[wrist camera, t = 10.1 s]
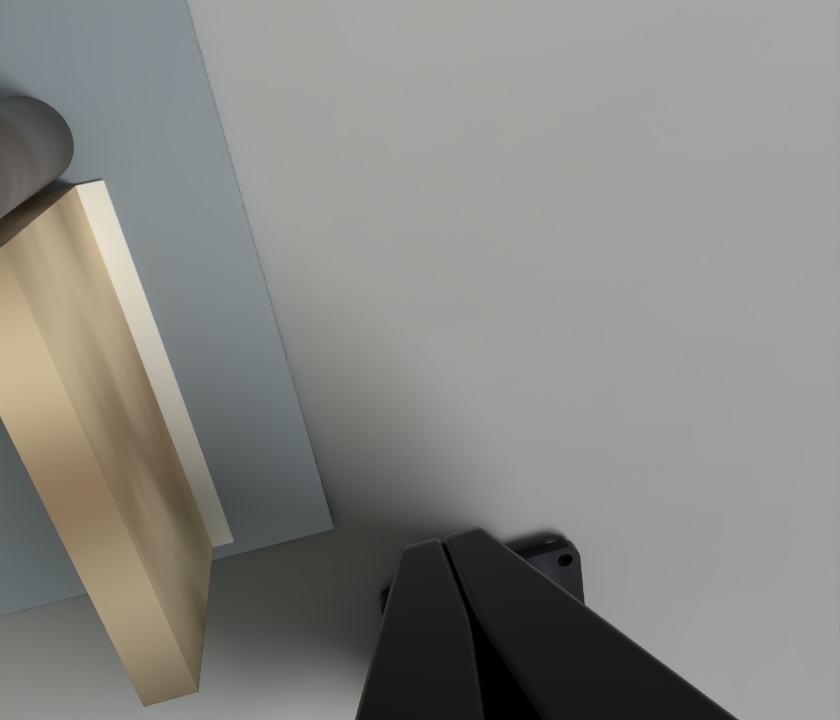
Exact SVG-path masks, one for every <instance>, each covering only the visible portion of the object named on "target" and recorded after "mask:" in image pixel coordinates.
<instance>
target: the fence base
mask: <svg viewBox="0 0 840 720" xmlns="http://www.w3.org/2000/svg"><path fill="white" fill-rule="evenodd" d="M73 153H74V141H73V136H72V133H71V130H70V128H69V126H68V124H67V123H66V121H65V120H64V118H63V117H62V116H61V115H60V114H59V113H58V112H57V111H56V110H55V109H54V108H53V107H51V106H50V105H48V104H47V103H45V102H43V101H40V100H38V99H35V98H31V97H25V96H15V97H9V98H5V99H2V100H0V417H1V419H2V421H3V423H4V425H5V427H6V429H7V431H8V433H9V435H10V437H11V439H12V441H13V443H14V445H15V447H16V449H17V451H18V453H19V455H20V457H21V459H22V461H23V463H24V465H25V467H26V469H27V471H28V473H29V475H30V477H31V479H32V481H33V483H34V485H35V487H36V489H37V491H38V493H39V495H40V497H41V499H42V501H43V503H44V506H45V508H46V510H47V512H48V514H49V516H50V518H51V520H52V522H53V524H54V526H55V528H56V530H57V532H58V534H59V536H60V538H61V540H62V542H63V544H64V546H65V548H66V550H67V552H68V554H69V556H70V558H71V560H72V562H73V564H74V566H75V568H76V570H77V572H78V574H79V576H80V578H81V580H82V582H83V584H84V586H85V588H86V590H87V592H88V594H89V596H90V598H91V600H92V602H93V604H94V606H95V609H96V611H97V613H98V615H99V617H100V619H101V621H102V623H103V625H104V627H105V629H106V631H107V633H108V635H109V637H110V639H111V641H112V643H113V645H114V647H115V649H116V651H117V653H118V655H119V657H120V659H121V661H122V663H123V665H124V667H125V669H126V671H127V673H128V675H129V677H130V679H131V681H132V683H133V685H134V687H135V689H136V691H137V693H138V695H139V697H140V699H141V701H142V703H143V705H144V707H145V706H149V705H152V704H156V703H159V702H163V701H166V700H170V699H174V698H177V697H181V696H184V695H188V694H192V693H195V692H198V690H199V680H200V670H201V660H202V651H203V641H204V631H205V621H206V611H207V601H208V591H209V581H210V571H211V561H212V551H213V546H212V544H211V541H210V539H209V536H208V533H207V531H206V528H205V525H204V523H203V520H202V517H201V515H200V512H199V510H198V507H197V504H196V502H195V499H194V496H193V494H192V491H191V489H190V486H189V483H188V481H187V478H186V475H185V473H184V470H183V467H182V465H181V462H180V460H179V457H178V454H177V452H176V449H175V446H174V444H173V441H172V438H171V436H170V433H169V431H168V428H167V425H166V423H165V420H164V417H163V415H162V412H161V410H160V407H159V404H158V402H157V399H156V396H155V394H154V391H153V388H152V386H151V383H150V381H149V378H148V375H147V373H146V370H145V367H144V365H143V362H142V360H141V357H140V354H139V352H138V349H137V346H136V344H135V341H134V338H133V336H132V333H131V331H130V328H129V325H128V323H127V320H126V317H125V315H124V312H123V310H122V307H121V304H120V302H119V299H118V296H117V294H116V291H115V288H114V286H113V283H112V281H111V278H110V275H109V273H108V270H107V267H106V265H105V262H104V259H103V257H102V254H101V252H100V249H99V246H98V244H97V241H96V238H95V236H94V233H93V231H92V228H91V225H90V223H89V220H88V217H87V215H86V212H85V209H84V207H83V204H82V202H81V199H80V196H79V194H78V191H77V188H76V186H71V187H67V188H63V189H58V190H53V191H48V192H43V193H38V194H35V193H36V192H38V191H39V190H41V189H42V188H43V187H45V186H46V185H48V184H49V183H50V182H52V181H53V180H54V179H56V178H57V177H59V176H60V175H61V174H62V173H64V172H65V170H66V169H67V168H68V166H69V165H70V163H71V161H72V158H73Z"/></svg>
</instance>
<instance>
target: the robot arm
mask: <svg viewBox="0 0 840 720" xmlns="http://www.w3.org/2000/svg"><path fill="white" fill-rule="evenodd" d="M564 554H567V555H566V556H565V557H563V558H560V559H559V557H560V556H562V555H564ZM380 606H381V611H382V615H383V618H382V621H381V625H380V629H379V632H378V636H377V640H376V644H375V647H374V651H373V655H372V659H371V662H370V666H369V670H368V673H367V677H366V681H365V685H364V688H363V692H362V696H361V699H360V703H359V707H358V711H357V714H356V718H355V720H738V719H737V718H736V717H734V716H733V715H732V714H730V713H729V712H728V711H726V710H725V709H724V708H722V707H721V706H720V705H718V704H717V703H716V702H714V701H713V700H711V699H710V698H709V697H707V696H706V695H705V694H703V693H702V692H701V691H699V690H698V689H697V688H695V687H694V686H693V685H691V684H690V683H689V682H687V681H686V680H685V679H683V678H682V677H681V676H679V675H678V674H677V673H675V672H674V671H673V670H671V669H670V668H669V667H667V666H666V665H665V664H663V663H662V662H661V661H659V660H658V659H657V658H655V657H654V656H653V655H651V654H650V653H649V652H647V651H646V650H645V649H643V648H642V647H641V646H639V645H638V644H637V643H635V642H634V641H633V640H631V639H630V638H629V637H627V636H626V635H624V634H623V633H622V632H620V631H619V630H618V629H616V628H615V627H614V626H612V625H611V624H610V623H608V622H607V621H606V620H604V619H603V618H602V617H600V616H599V615H598V614H596V613H595V612H594V611H592V610H591V609H590V608H588V607H587V606H586V605H585V603H584V593H583V582H582V572H581V561H580V555H579V552H578V550H577V549H576V547H575V545H574V544H573V543H572V542H571V541H568V540H558V541H555V542H551V543H547V544H544V545H540V546H536V547H533V548H529V549H525V550H522V551H518V552H513V551H512V550H511V549H509V548H508V547H507V546H505V545H504V544H503V543H501V542H500V541H499V540H497V539H496V538H495V537H493V536H492V535H491V534H489V533H488V532H487V531H485V530H484V529H482V528H479V527H475V528H471V529H467V530H463V531H460V532H456V533H452V534H448V535H446V536H445V537H444V539H443V544H442V542H441V541H440V540H439V539H436V538H434V539H430V540H426V541H422V542H419V543H415V544H411V545H407V546H405V547H404V548H403V549H402V550H401V552H400V555H399V558H398V562H397V565H396V569H395V573H394V577H393V580H392V584H391V586H390V587H388V588H386V589H385V590H384V591H383V592H382V593H381V595H380Z"/></svg>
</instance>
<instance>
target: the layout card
mask: <svg viewBox="0 0 840 720" xmlns="http://www.w3.org/2000/svg"><path fill="white" fill-rule="evenodd" d="M15 96H25V97H31V98H35V99H38V100H40V101H43V102H45V103H47V104H48V105H50V106H51V107H53V108H54V109H55V110H56V111H57V112H58V113H59V114H60V115H61V116H62V117H63V118H64V120H65V121H66V123H67V124H68V126H69V128H70V130H71V133H72V136H73V141H74V153H73V158H72V161H71V163H70V165H69V166H68V168H67V169H66V170H65V172H64V173H62V174H61V175H60V176H59V177H57V178H56V179H54V180H53V181H52V182H50V183H49V184H48V185H46V186H45V187H43V188H42V189H41V190H39V191H38V192H36V193H35V194H38V193H43V192H48V191H53V190H58V189H63V188H67V187H71V186H76V188H77V191H78V194H79V196H80V199H81V202H82V204H83V207H84V209H85V212H86V215H87V217H88V220H89V223H90V225H91V228H92V231H93V233H94V236H95V238H96V241H97V244H98V246H99V249H100V252H101V254H102V257H103V259H104V262H105V265H106V267H107V270H108V273H109V275H110V278H111V281H112V283H113V286H114V288H115V291H116V294H117V296H118V299H119V302H120V304H121V307H122V310H123V312H124V315H125V317H126V320H127V323H128V325H129V328H130V331H131V333H132V336H133V338H134V341H135V344H136V346H137V349H138V352H139V354H140V357H141V360H142V362H143V365H144V367H145V370H146V373H147V375H148V378H149V381H150V383H151V386H152V388H153V391H154V394H155V396H156V399H157V402H158V404H159V407H160V410H161V412H162V415H163V417H164V420H165V423H166V425H167V428H168V431H169V433H170V436H171V438H172V441H173V444H174V446H175V449H176V452H177V454H178V457H179V460H180V462H181V465H182V467H183V470H184V473H185V475H186V478H187V481H188V483H189V486H190V489H191V491H192V494H193V496H194V499H195V502H196V504H197V507H198V510H199V512H200V515H201V517H202V520H203V523H204V525H205V528H206V531H207V533H208V536H209V539H210V541H211V544H212V546H213V551H212V561H214V560H217V559H221V558H225V557H229V556H233V555H237V554H240V553H244V552H248V551H252V550H256V549H259V548H263V547H267V546H271V545H275V544H279V543H282V542H286V541H290V540H294V539H298V538H301V537H305V536H309V535H313V534H317V533H321V532H324V531H328V530H332V529H334V527H333V521H332V518H331V514H330V511H329V507H328V504H327V500H326V496H325V493H324V489H323V486H322V482H321V479H320V475H319V471H318V468H317V464H316V461H315V457H314V454H313V450H312V447H311V443H310V439H309V436H308V432H307V429H306V425H305V422H304V418H303V415H302V411H301V407H300V404H299V400H298V397H297V393H296V390H295V386H294V382H293V379H292V375H291V372H290V368H289V365H288V361H287V358H286V354H285V350H284V347H283V343H282V340H281V336H280V333H279V329H278V325H277V322H276V318H275V315H274V311H273V308H272V304H271V301H270V297H269V293H268V290H267V286H266V283H265V279H264V276H263V272H262V269H261V265H260V261H259V258H258V254H257V251H256V247H255V244H254V240H253V236H252V233H251V229H250V226H249V222H248V219H247V215H246V212H245V208H244V204H243V201H242V197H241V194H240V190H239V187H238V183H237V179H236V176H235V172H234V169H233V165H232V162H231V158H230V155H229V151H228V147H227V144H226V140H225V137H224V133H223V130H222V126H221V122H220V119H219V115H218V112H217V108H216V105H215V101H214V98H213V94H212V90H211V87H210V83H209V80H208V76H207V73H206V69H205V66H204V62H203V58H202V55H201V51H200V48H199V44H198V41H197V37H196V33H195V30H194V26H193V23H192V19H191V16H190V12H189V9H188V5H187V1H186V0H0V100H2V99H5V98H9V97H15ZM84 594H88V592H87V590H86V588H85V586H84V584H83V582H82V580H81V578H80V576H79V574H78V572H77V570H76V568H75V566H74V564H73V562H72V560H71V558H70V556H69V554H68V552H67V550H66V548H65V546H64V544H63V542H62V540H61V538H60V536H59V534H58V532H57V530H56V528H55V526H54V524H53V522H52V520H51V518H50V516H49V514H48V512H47V510H46V508H45V506H44V503H43V501H42V499H41V497H40V495H39V493H38V491H37V489H36V487H35V485H34V483H33V481H32V479H31V477H30V475H29V473H28V471H27V469H26V467H25V465H24V463H23V461H22V459H21V457H20V455H19V453H18V451H17V449H16V447H15V445H14V443H13V441H12V439H11V437H10V435H9V433H8V431H7V429H6V427H5V425H4V423H3V421H2V419H1V417H0V616H3V615H7V614H11V613H15V612H19V611H23V610H26V609H30V608H34V607H38V606H42V605H45V604H49V603H53V602H57V601H61V600H65V599H68V598H72V597H76V596H80V595H84Z"/></svg>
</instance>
